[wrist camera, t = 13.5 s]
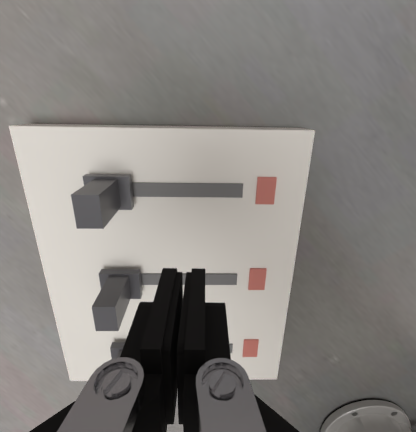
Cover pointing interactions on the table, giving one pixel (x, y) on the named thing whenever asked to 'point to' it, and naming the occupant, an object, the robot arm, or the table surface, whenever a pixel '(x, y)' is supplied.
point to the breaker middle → (115, 297)
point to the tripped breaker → (101, 199)
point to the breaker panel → (170, 225)
